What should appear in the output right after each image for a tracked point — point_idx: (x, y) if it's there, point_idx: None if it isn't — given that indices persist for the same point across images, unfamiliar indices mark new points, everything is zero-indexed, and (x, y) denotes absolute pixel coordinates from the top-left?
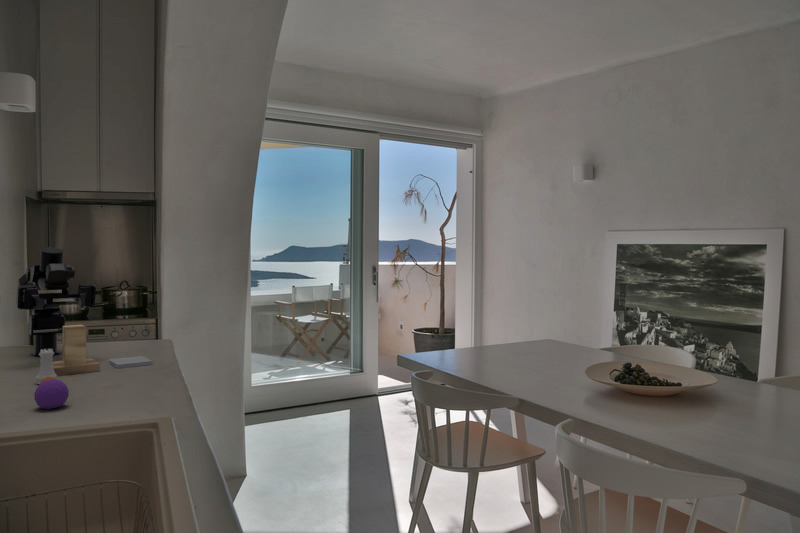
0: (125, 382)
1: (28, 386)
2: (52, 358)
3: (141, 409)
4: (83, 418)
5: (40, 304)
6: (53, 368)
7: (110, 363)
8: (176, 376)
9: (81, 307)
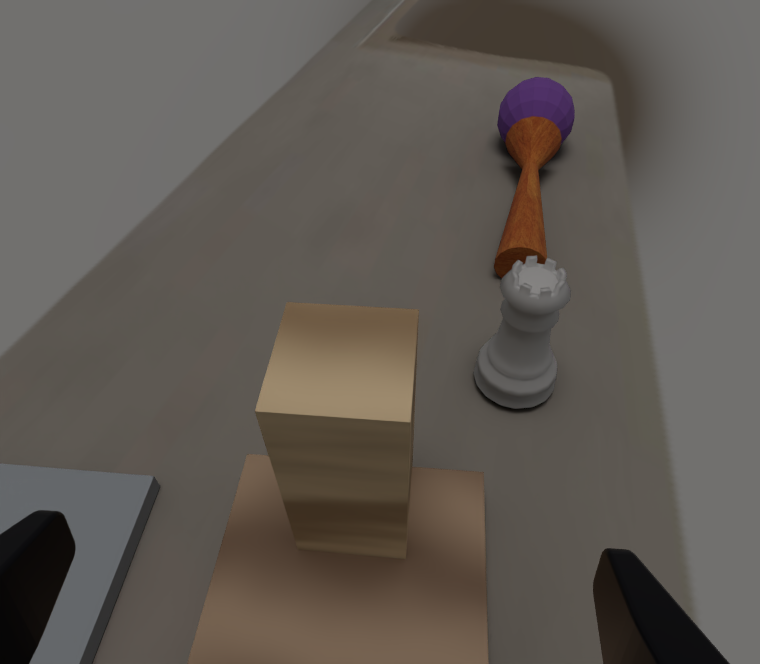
0: (287, 251)
1: (579, 365)
2: (505, 303)
3: (379, 82)
4: (485, 85)
5: (679, 619)
6: (472, 472)
7: (97, 642)
8: (126, 238)
9: (67, 568)
